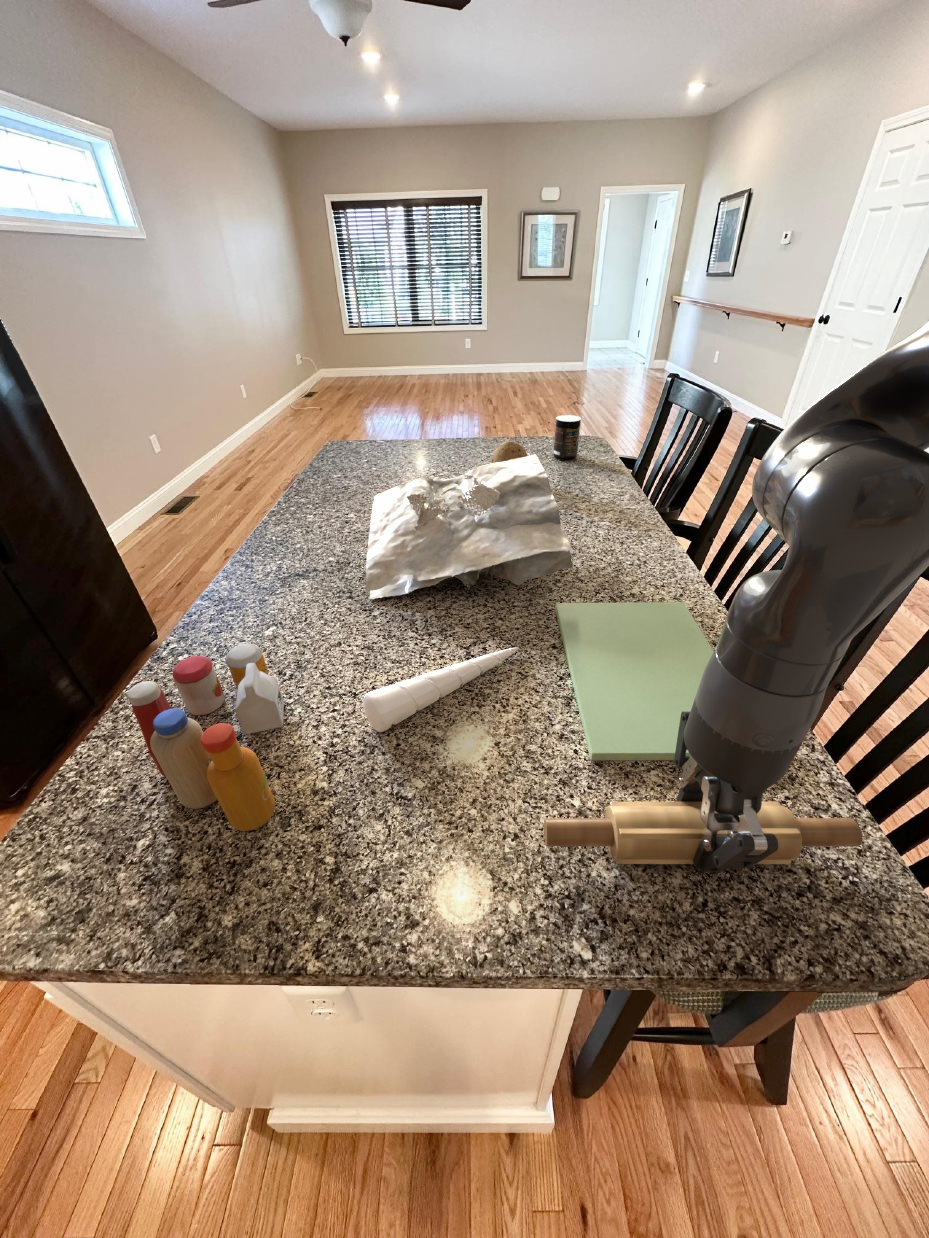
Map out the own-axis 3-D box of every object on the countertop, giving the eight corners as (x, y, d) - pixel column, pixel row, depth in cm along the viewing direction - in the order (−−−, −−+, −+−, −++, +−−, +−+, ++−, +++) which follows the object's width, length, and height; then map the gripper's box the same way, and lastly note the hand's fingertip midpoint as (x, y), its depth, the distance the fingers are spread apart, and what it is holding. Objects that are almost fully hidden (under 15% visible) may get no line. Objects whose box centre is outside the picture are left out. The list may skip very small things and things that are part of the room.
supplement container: (582, 457, 142) (586, 418, 136) (565, 462, 139) (569, 423, 133) (564, 452, 147) (567, 413, 141) (547, 457, 143) (550, 418, 137)
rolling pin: (829, 830, 50) (843, 794, 48) (862, 871, 46) (879, 833, 44) (541, 830, 50) (543, 794, 48) (547, 871, 46) (550, 833, 44)
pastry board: (773, 760, 56) (776, 752, 56) (590, 760, 57) (591, 753, 56) (681, 608, 81) (683, 601, 80) (554, 609, 81) (555, 603, 81)
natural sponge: (483, 483, 127) (483, 443, 122) (501, 473, 133) (502, 433, 128) (515, 490, 123) (517, 448, 117) (532, 479, 129) (535, 438, 123)
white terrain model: (349, 566, 79) (364, 475, 103) (380, 639, 90) (387, 541, 113) (575, 519, 76) (537, 437, 100) (579, 600, 87) (544, 508, 111)
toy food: (280, 827, 51) (248, 745, 44) (140, 860, 48) (83, 779, 41) (285, 661, 72) (264, 588, 65) (188, 678, 70) (155, 604, 63)
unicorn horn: (536, 664, 70) (538, 636, 68) (380, 741, 60) (375, 712, 57) (514, 647, 74) (515, 619, 71) (363, 717, 63) (357, 688, 60)
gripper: (862, 791, 32) (771, 920, 42) (758, 647, 44) (706, 775, 54) (740, 791, 32) (679, 919, 42) (669, 648, 44) (634, 775, 54)
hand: (694, 838), depth 48 cm, fingers closed on rolling pin, 4 cm apart
